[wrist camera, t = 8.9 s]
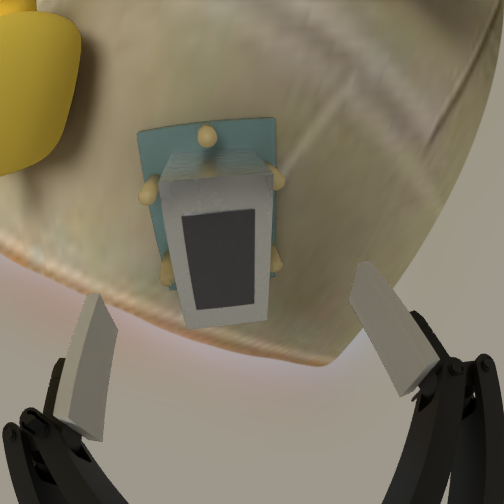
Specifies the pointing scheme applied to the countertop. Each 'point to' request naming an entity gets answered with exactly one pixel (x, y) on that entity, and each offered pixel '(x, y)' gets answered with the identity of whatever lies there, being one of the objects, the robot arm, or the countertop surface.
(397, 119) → the countertop surface
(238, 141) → the pegboard
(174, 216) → the grey box
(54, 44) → the teapot
